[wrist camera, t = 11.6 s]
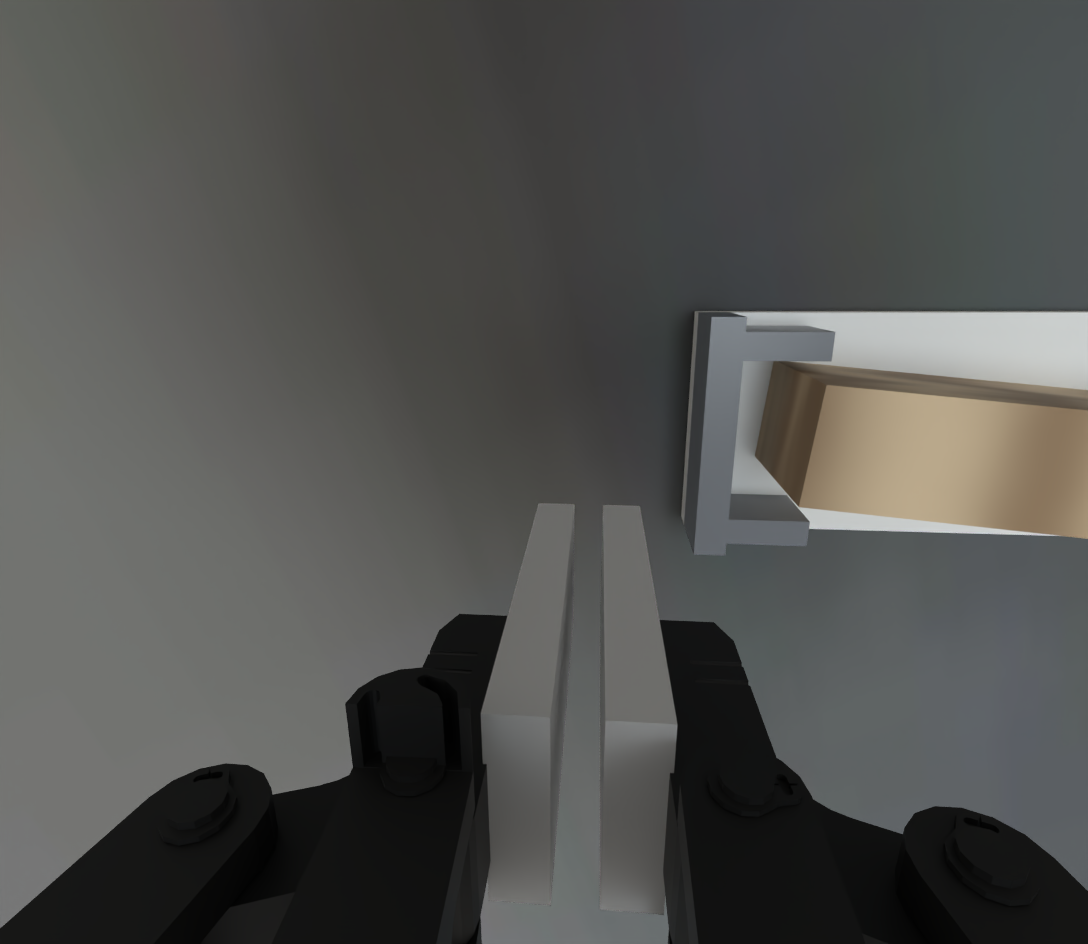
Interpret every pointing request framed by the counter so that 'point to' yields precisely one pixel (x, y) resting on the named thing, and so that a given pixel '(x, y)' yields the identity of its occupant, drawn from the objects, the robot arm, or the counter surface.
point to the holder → (849, 341)
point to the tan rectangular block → (928, 447)
